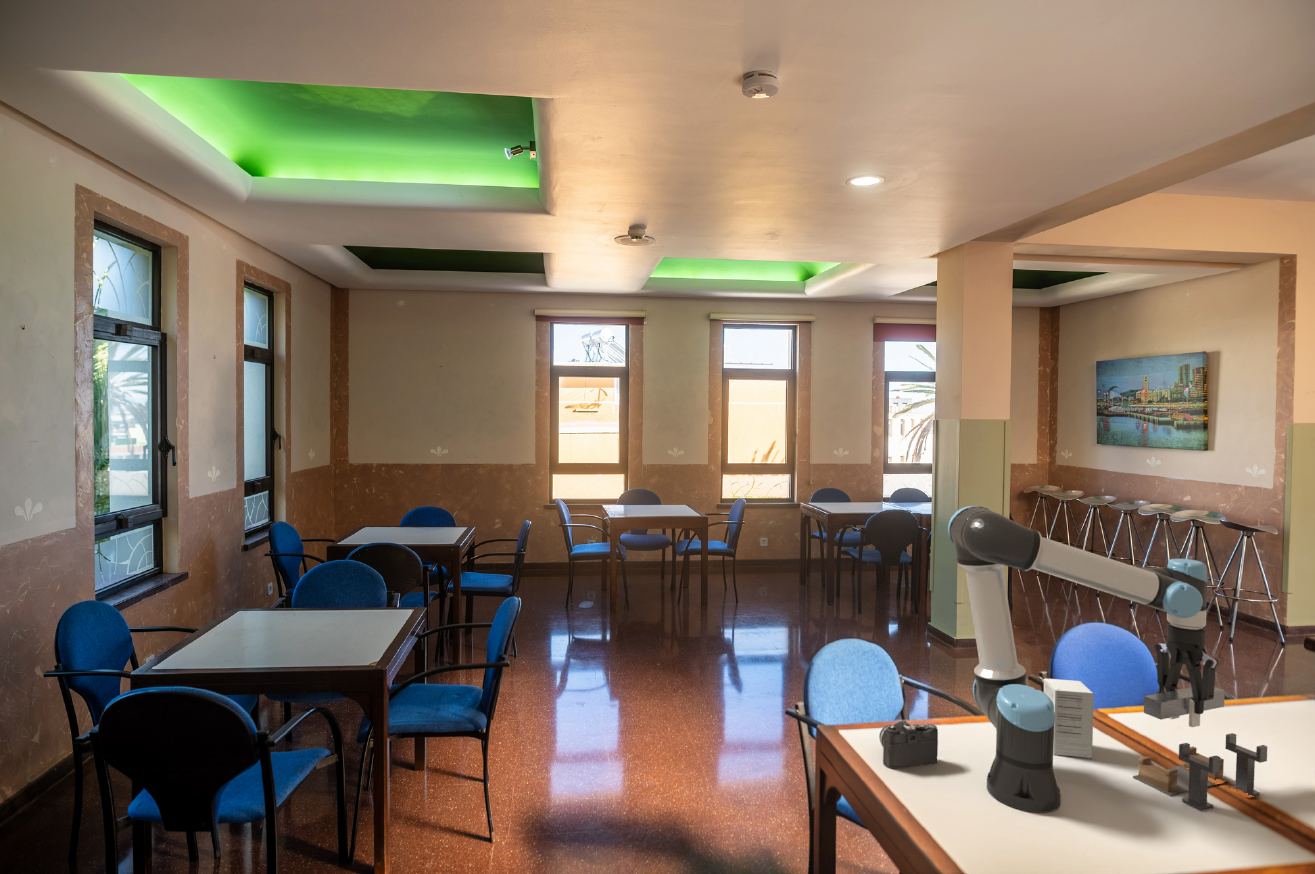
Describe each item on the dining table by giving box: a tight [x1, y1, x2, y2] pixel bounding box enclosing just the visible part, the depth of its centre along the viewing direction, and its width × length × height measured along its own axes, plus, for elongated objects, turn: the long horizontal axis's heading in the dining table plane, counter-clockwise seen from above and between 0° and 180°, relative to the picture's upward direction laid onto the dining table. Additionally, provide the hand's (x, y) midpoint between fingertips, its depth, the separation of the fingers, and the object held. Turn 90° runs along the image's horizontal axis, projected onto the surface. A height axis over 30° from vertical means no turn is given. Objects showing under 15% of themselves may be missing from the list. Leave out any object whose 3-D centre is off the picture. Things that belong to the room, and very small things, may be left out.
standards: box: [1178, 732, 1268, 812], centre depth 163 cm, size 20×7×12 cm, turn 110°
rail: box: [1143, 686, 1226, 720], centre depth 171 cm, size 22×4×4 cm, turn 110°
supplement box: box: [1043, 678, 1095, 759], centre depth 187 cm, size 10×9×17 cm
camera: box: [879, 720, 939, 769], centre depth 181 cm, size 14×11×10 cm
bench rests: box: [1132, 746, 1230, 797], centre depth 172 cm, size 20×9×5 cm, turn 110°
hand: (1184, 721), depth 171 cm, fingers closed on rail, 4 cm apart
